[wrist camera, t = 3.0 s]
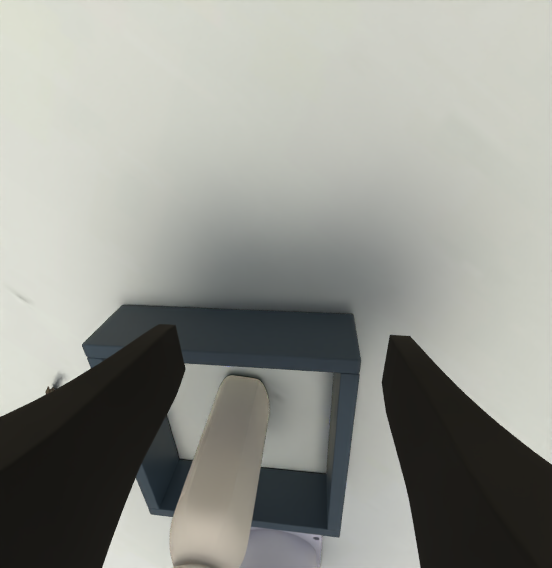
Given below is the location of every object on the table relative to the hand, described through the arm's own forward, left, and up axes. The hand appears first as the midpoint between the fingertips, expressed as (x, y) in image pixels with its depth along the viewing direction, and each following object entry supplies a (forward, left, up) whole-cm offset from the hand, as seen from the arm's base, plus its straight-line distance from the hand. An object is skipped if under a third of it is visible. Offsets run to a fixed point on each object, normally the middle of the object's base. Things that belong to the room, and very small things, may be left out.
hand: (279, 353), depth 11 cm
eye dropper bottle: (-9, +3, -6) cm, 11 cm away
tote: (-9, +3, -6) cm, 11 cm away
